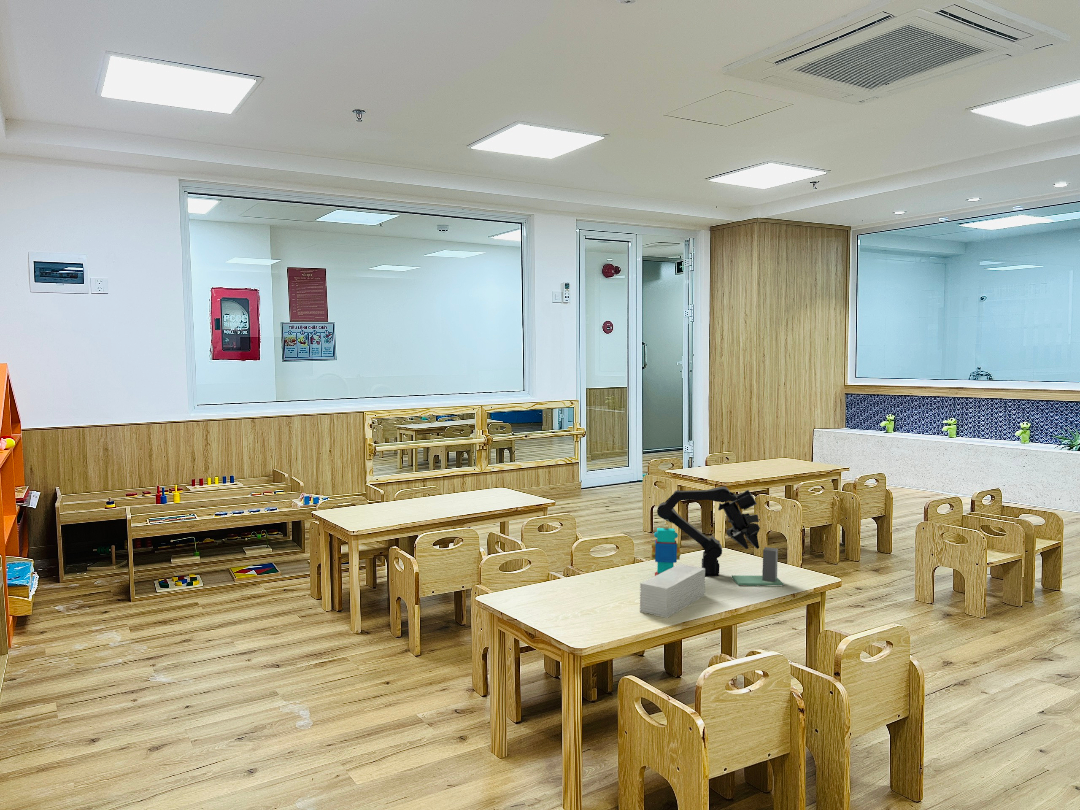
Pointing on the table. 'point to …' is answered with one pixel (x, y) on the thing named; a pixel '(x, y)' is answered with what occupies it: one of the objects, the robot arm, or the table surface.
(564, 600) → the table surface
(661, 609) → the stack of papers
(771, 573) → the block
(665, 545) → the toy robot
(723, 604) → the table surface
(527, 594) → the table surface
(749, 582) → the board
